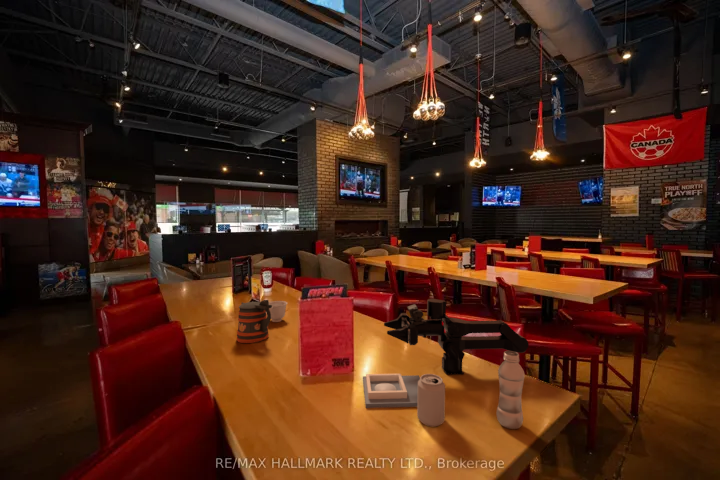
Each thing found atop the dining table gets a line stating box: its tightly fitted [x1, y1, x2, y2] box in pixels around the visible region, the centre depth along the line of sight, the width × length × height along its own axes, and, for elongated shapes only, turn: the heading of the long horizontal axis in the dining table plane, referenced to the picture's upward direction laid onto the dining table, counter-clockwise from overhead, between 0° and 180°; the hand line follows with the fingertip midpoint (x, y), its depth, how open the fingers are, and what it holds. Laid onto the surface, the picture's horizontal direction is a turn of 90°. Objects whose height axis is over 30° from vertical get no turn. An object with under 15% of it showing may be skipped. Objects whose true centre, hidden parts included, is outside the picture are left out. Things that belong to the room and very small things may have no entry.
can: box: [416, 373, 446, 427], centre depth 88 cm, size 8×8×12 cm
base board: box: [362, 373, 421, 409], centre depth 103 cm, size 20×17×3 cm
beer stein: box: [236, 299, 272, 344], centre depth 150 cm, size 19×15×20 cm
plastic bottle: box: [495, 350, 526, 430], centre depth 86 cm, size 6×7×20 cm
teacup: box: [269, 300, 288, 323], centre depth 177 cm, size 12×15×10 cm
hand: (385, 328), depth 116 cm, fingers open, 9 cm apart
